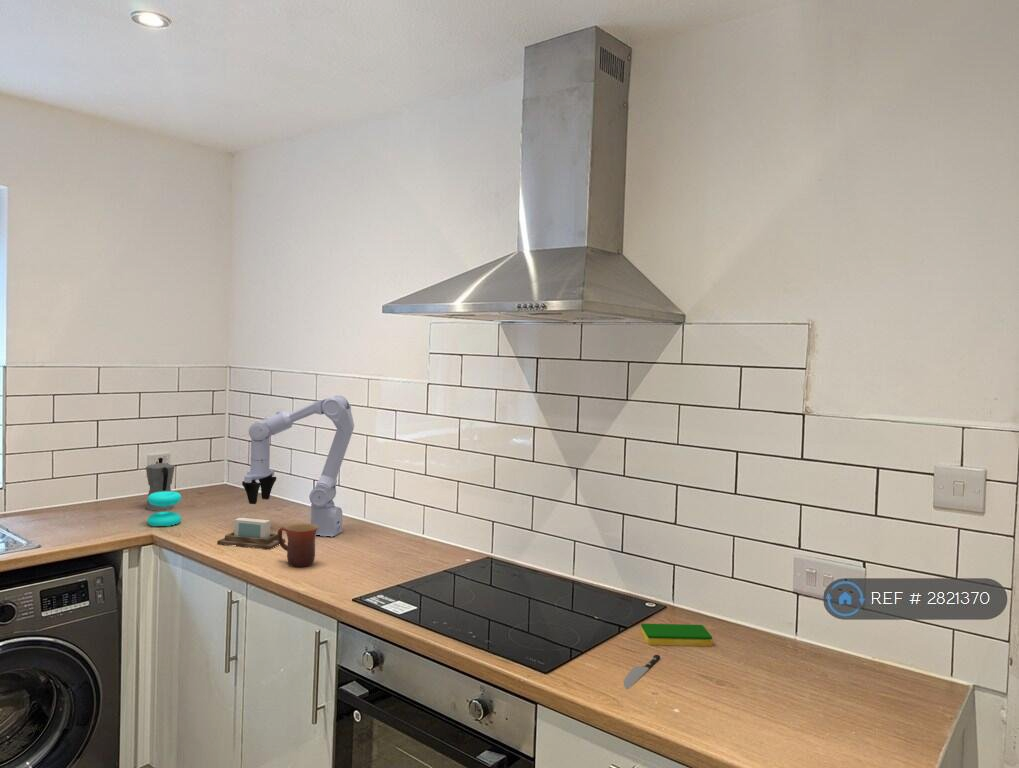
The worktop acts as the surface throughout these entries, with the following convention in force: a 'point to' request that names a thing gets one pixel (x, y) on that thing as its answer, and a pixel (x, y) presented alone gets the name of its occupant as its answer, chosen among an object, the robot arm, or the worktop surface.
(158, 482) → the coffeepot
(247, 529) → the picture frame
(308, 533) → the mug
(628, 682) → the chef's knife
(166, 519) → the donuts
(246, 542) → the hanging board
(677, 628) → the dish sponge
